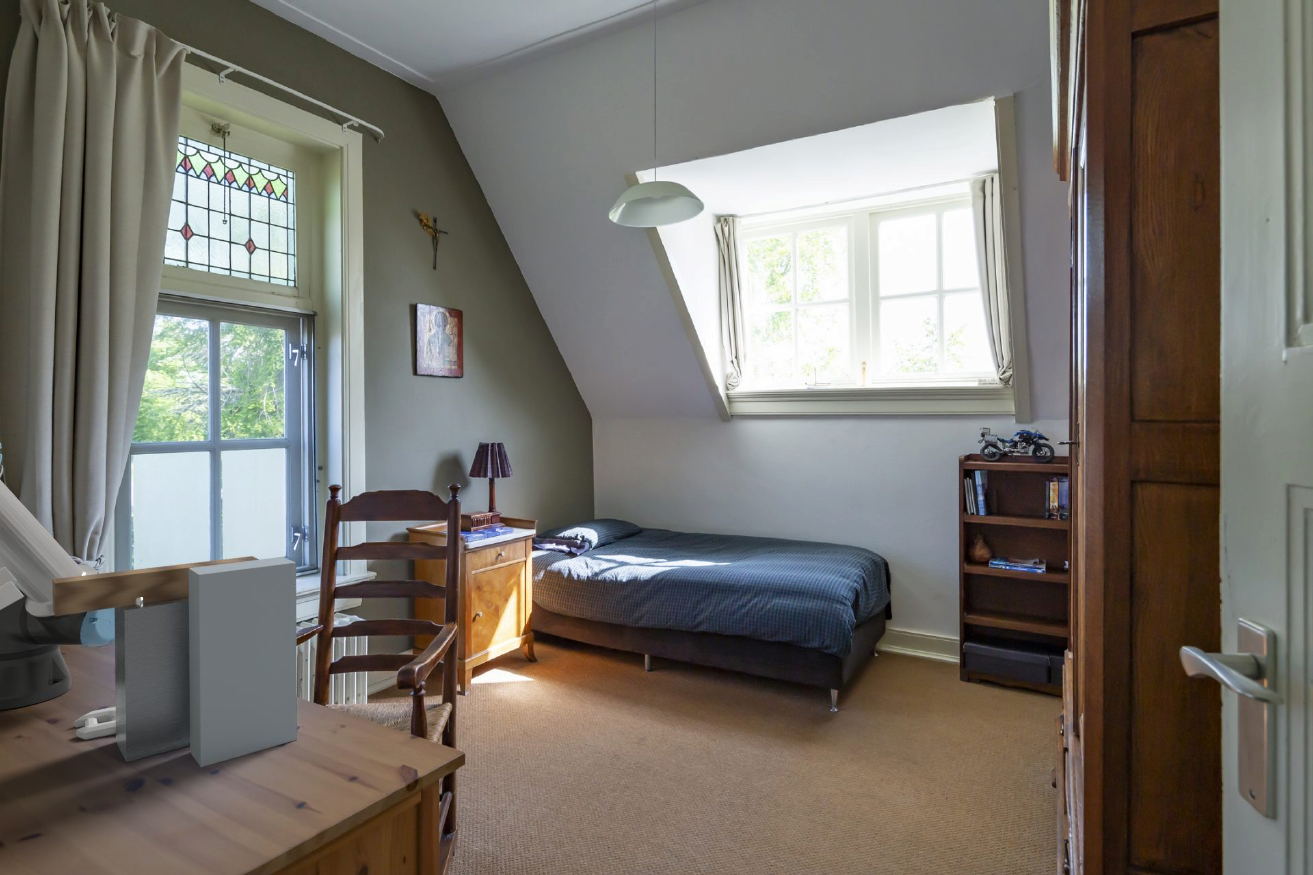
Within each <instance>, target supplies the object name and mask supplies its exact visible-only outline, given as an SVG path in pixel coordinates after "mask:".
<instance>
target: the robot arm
mask: <svg viewBox="0 0 1313 875" xmlns="http://www.w3.org/2000/svg"><path fill="white" fill-rule="evenodd" d="M1 449H2V443H1V442H0V450H1ZM2 460H3V454H2V453H0V478H1V477H2V475H3V473H4V466H3V465H2ZM93 574H100V573H99V572H98V571H97V570H96V568H94V567H93V566H91V565H87V564H78V563H77V562H76V561H75V560H74V559H73V557H72V556H70V555H69V553H68V552H67V551H66V550H65V549H64V548H63V546H61V545H60V544H59V543H58V541H57V540H56V539H55V538H54V536H52V535H51V534H50V533H49V531H48V530H47V529H46V528H45V527H44V526H43V525H42V524H41V523H40V522H39V520H38V519H37V518H36V517H35V516H34V515H33V514H32V512H30V511H29V509H28V508H26V506H25V505H24V504H23V503H22V501H21V500H19V499H18V498H17V496H16V495H15V494H14V493H13V492H12V491H11V490H10V489H9V487H8V486H7V485H6V484H5V483H4V482H3V481H2V480H1V479H0V711H1V710H9V709H16V708H21V707H25V706H31V705H34V704H38V703H42V702H45V701H48V700H51V699H54V698H57V697H59V696H62V695H64V694H66V693H67V692H69V691H70V689H71V688H72V674H71V671H70V670H69V668H68V666H67V663H66V661H65V658H64V656H63V655H62V651H61V648H60V646H78V647H86V648H91V647H92V648H93V647H100V646H101V647H103V646H104V647H105V646H106V645H109V644H112V643H115V611H114V608H110V609H103V610H96V611H89V612H82V613H75V614H68V615H61V616H55V615H54V613H53V589H52V579H58V578H67V577H75V576H84V575H93Z"/></svg>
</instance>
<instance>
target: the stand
mask: <svg viewBox="0 0 1313 875" xmlns="http://www.w3.org/2000/svg"><path fill="white" fill-rule="evenodd" d="M297 646H298V645H297V562H296V561H293V560H291V559H289V558H286V557H283V556H277V557H271V558H270V557H269V558H263V559H262V558H259V560H252V561H243V562H235V563H226V564H218V565H210V566H201V567H193V568H189V669H190V745H189V747H190V748H189V750H190V751H189V753H190V754H191V756H192V757H193V758H194V760H195V762H197V764H198V765H199V767H200V768H203V767H207V766H210V765H214V764H217V763H220V762H224V761H228V760H232V759H235V758H238V757H241V756H245V755H248V754H253V753H255V752H256V753H257V752H259V751H263V750H266V749H271V748H273V747H276V746H277V747H278V746H280V745H283V744H286V743H291V742H294V741H297V740H298V704H297V703H298V695H297V694H298V692H297V691H298V689H297V688H298V686H297V682H298V681H297V678H298V677H297V676H298V675H297V673H298V672H297V669H298V667H297V666H298V665H297V663H298V662H297V660H298V658H297V657H298V656H297V655H298V654H297V653H298V652H297V648H298V647H297Z"/></svg>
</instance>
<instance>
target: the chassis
mask: <svg viewBox="0 0 1313 875" xmlns="http://www.w3.org/2000/svg"><path fill="white" fill-rule="evenodd" d="M114 611H115V641H114V679H115V680H114V682H115V684H114V685H115V686H114V689H115V691H114V692H115V693H114V694H115V698H114V699H115V707H116V734H115V742H116V744H117V747H118V749H119V751H120V753H121V755H122V756H123V758H124V761H125V763H128V762H131V761H135V760H140V759H143V758H147V757H151V756H155V755H158V754H162V753H166V752H169V751H174V750H177V749H180V748H184V747H188V746H189V747H190V669H189V597H186V598H179V599H172V600H165V601H158V602H151V603H144V604H143V597H137V598H135V605H131V606H124V607H117V608H114Z"/></svg>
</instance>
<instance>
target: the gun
mask: <svg viewBox="0 0 1313 875" xmlns="http://www.w3.org/2000/svg"><path fill="white" fill-rule="evenodd" d="M74 728H77V729H76V730H75V731H76V737H78V738H80V739H82V740H91V739H92V740H93V739H97V738H101V737H106V736H113V735H116V706H112V707H106V708H100V709H96V710H92V711H90V712H88V713H86V714H84V715H82V716H81V717H78V718H77V719H76V720H74Z"/></svg>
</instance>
